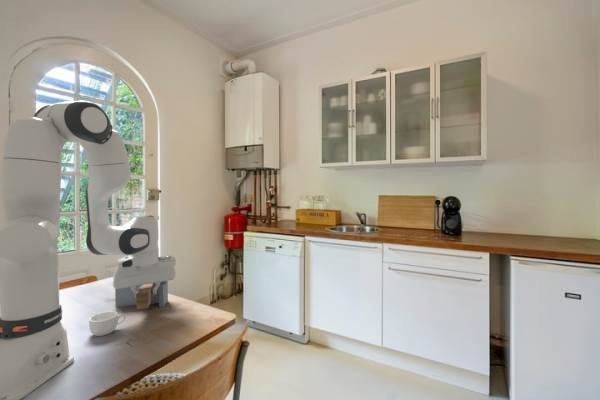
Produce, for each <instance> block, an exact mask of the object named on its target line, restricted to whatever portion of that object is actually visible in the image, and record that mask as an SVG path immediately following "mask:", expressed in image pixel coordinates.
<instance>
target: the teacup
mask: <svg viewBox="0 0 600 400" xmlns="http://www.w3.org/2000/svg"><path fill="white" fill-rule="evenodd" d="M122 316H123V319H122V320H120V318H121V317H122ZM119 320H120V321H119ZM125 320H126V314H125V313H124V314H123V313H121V314H119V312H118V311H114V310H113V311H112V310H110V311H103V312H99V313H96V314H93V315H91V316H90V317H89V318H88V325H89V331H90V333H91V334H92V335H93V336H96V337H104V336H107V335H109V334H111V333H112V332H114V331H115V330H116V328H117V326H118V325H120V324H121V323H123V322H124V321H125Z"/></svg>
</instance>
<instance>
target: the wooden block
mask: <svg viewBox="0 0 600 400" xmlns="http://www.w3.org/2000/svg"><path fill="white" fill-rule="evenodd" d="M154 288H155V285H154V283H151V284H145V285H142V286H141V288H140V290H139V291H138V293H137V295H136V302H137V305H136V310H140V309H141V310H142V309H148V308H149V307H150V305H151V304H150V303H151V300H152V298H153V296H154V295H152V289H154Z"/></svg>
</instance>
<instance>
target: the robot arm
mask: <svg viewBox="0 0 600 400" xmlns="http://www.w3.org/2000/svg"><path fill="white" fill-rule="evenodd" d="M5 135H6V136H5V138H4V143H3V148H2V164H1V165H2V166H1V186H0V192H1V200H2V209H3V211H2V212H3V224H2V225H1V226H0V400H21V399H23V398H25V397H26V396H28V395H29V394H30V393H31V392H33V391H34V390H37V388H39V387H40V386H41V385H43V384H44V383H45V382H47V381H48V380H50V379H51V378H52V377H53V376H56V375H57V374H58V373H59V372H61V371H62V370H64V369H65V368H67V367H68V366H69V365H71V364H73V362H74V361H75V358H74V356H73V355H72V354H70V349H69V339H68V334H67V330H66V329H65V328H64V325H63V324H62V322H61V321H62V319H63V309H62V308H63V307H62V305H61V304H60V272H59V271H60V270H59V253H58V252H59V251H58V250H59V249H58V245H59V244H58V243H59V242H58V240H59V237H60V236H59V235H60V223H61V222H60V221H61V220H60V219H61V218H60V214H61V213H60V212H61V185H62V184H61V183H62V161H63V160H62V157H63V156H62V154H63V153H62V152H63V148H64V147H65V145H66V144H67V143H75V144H76V143H78V144H79V145H80V146H81V147H82V148H83V150H84V152H85V155H86V156H85V157H86V161H87V166H88V175H89V177H88V183H87V184H86V188H85V204H86V216H87V218H86V219H87V231H86V238H85V239H86V241H85V243H86V247H87V249H88V250H89V251H90V252H91V253H92V254H94V255H96V256H102V255H105V256H106V255H108V256H109V255H112V256H123V257H120V258H119V259H117V261H116V267H115V270H114V274H113V278H112V279H113V280H112V281H113V282H112V287H113V288H114V290H115V289H120V288H126V287H131V289H132V291H133V292H134V293H135V298H136V295H137V293H138V292H136V290H135V289H136V286H138V285H145V284H151V283H155V284H156V286H155V288H154V289H152V295H155V294H157V289H158V287H159V286H160V282H163V281H174V279H176V268H175V266H176V258H175V257H174V256H172V255H165V256H160V254H159V253H160V251H159V246H158V240H159V227H158V222H157V219H156V217H155V216H153V215H145V214H136V215H133V216H132V218H131V220H129V221H128V222H127V223H125V224H124V225H120V226H116V225H115V226H114V225H112V224H111V222H110V215H109V209H110V208H109V201H110V198H111V197H112V196H113V195H114V194H115V193H117V192H120V191H121V190H123V189H124V188H126V186H127V185H128V184H129V183H130V181H131V177H132V176H131V175H132V171H131V164H130V160H129V155H128V151H127V149H126V145H125V142H124V140H123V138H122V135H121V134H120V133H119V131H116V130H115V129H113V125H112V123H111V121H110V118H109V115H108V113H106V111H105V110H104V108H102V106H100V105H98V104H96V103H93V102H91V101H86V100H76V101H60V102H56V103H53V104H47V105H45V106H42V107H40V108H39V109H38V110H37V111H36V112H35V113H34V115H33V116H32V117H31V116H29V117H28V116H26V117H24V116H23V117H19V118H16V119H14V120H12V121H11V122H10V123H9V125H8V127H7V132H6V134H5Z"/></svg>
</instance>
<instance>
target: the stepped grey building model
mask: <svg viewBox="0 0 600 400" xmlns="http://www.w3.org/2000/svg"><path fill="white" fill-rule="evenodd" d="M168 284H169V282H168V281H163V282H160V286H159V287H158V289H157V294H155V295H154V296H153V298H152V300H151V303H150V305H156V304H155V303H159V304H158V306H159V308H164V307H166V305H167V303H168V302H169V291H168V289H169V288H168V287H169V286H168ZM154 285H155V286H156V284H155V283H154ZM141 286H142V285H138V286H136V289H135V290H136V292H138V291H139V290H140V288H141ZM114 290H115V292H114V294H115V296H114V298H115V304H114V305H115V307H125V306H137V302H136V298H135V293H134V292H133V291H132V289H131V287H126V288H120V289H115V288H114Z"/></svg>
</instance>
